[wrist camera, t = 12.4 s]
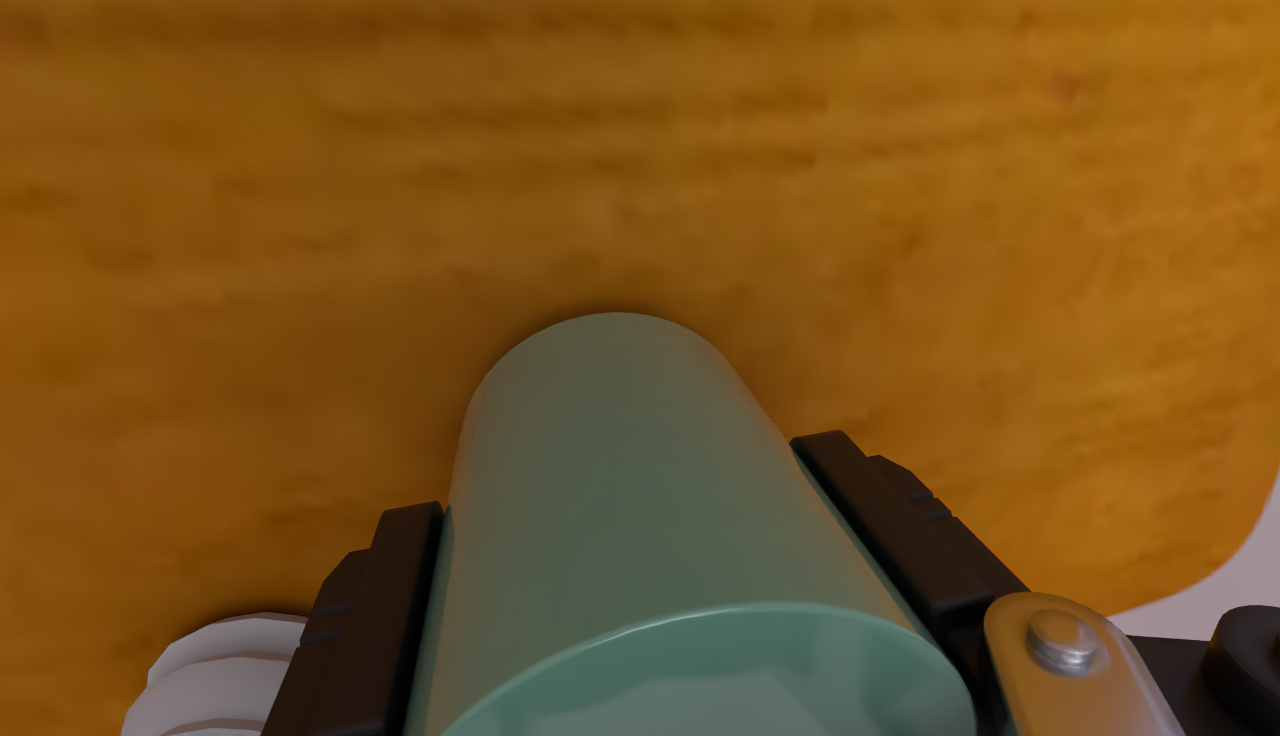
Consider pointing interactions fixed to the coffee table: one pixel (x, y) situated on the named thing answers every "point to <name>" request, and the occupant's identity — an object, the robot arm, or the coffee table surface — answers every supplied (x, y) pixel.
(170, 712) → the rook chess piece
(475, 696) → the mint green cylinder
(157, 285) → the coffee table surface
